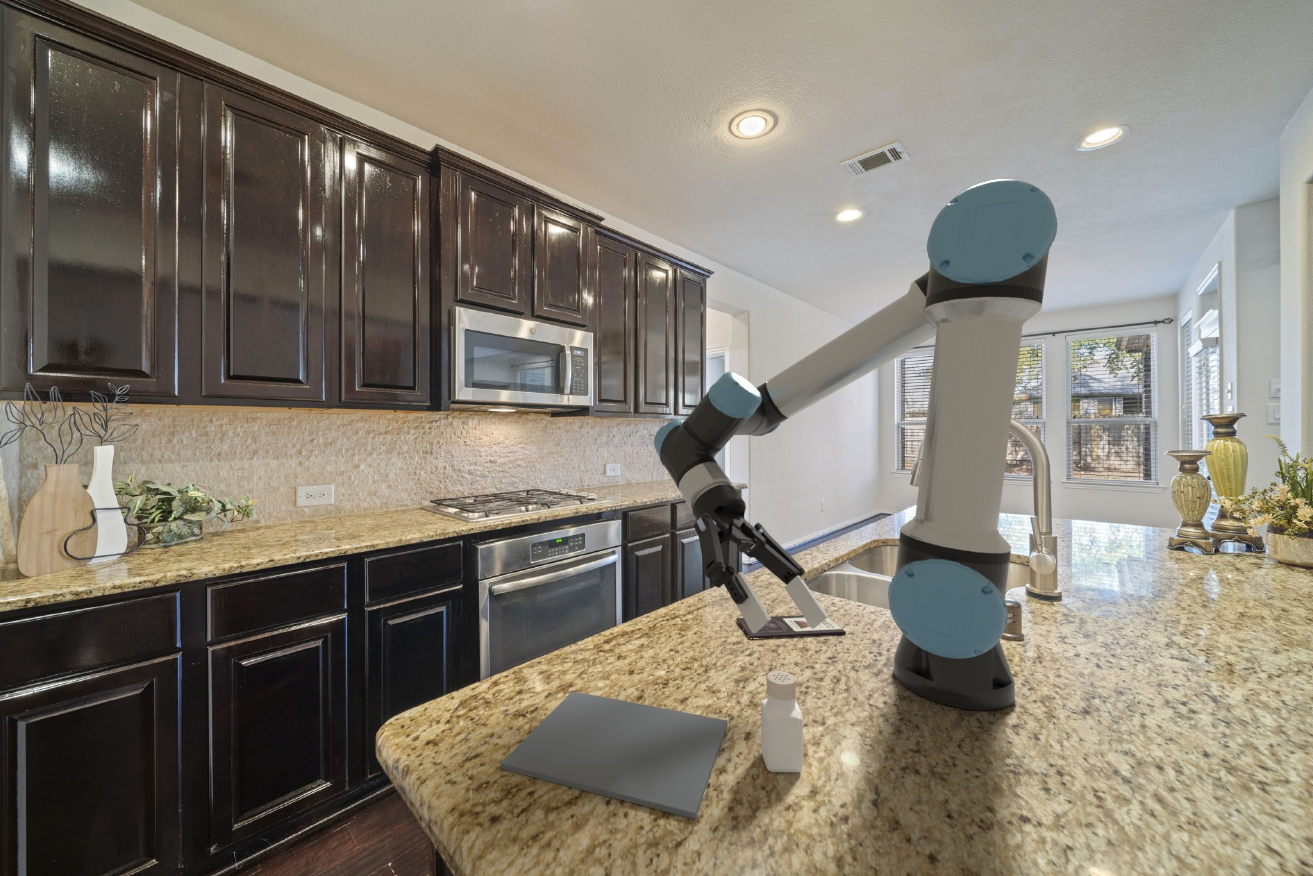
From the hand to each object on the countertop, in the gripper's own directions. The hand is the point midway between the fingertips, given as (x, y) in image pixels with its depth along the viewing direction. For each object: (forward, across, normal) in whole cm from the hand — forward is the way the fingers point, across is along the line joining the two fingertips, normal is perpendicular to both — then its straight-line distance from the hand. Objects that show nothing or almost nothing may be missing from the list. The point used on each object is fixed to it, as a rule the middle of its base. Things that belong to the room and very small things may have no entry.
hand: (793, 624), depth 61 cm
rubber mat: (+2, +14, -20) cm, 25 cm away
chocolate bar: (-9, -30, -17) cm, 36 cm away
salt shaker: (+11, +4, -9) cm, 15 cm away
